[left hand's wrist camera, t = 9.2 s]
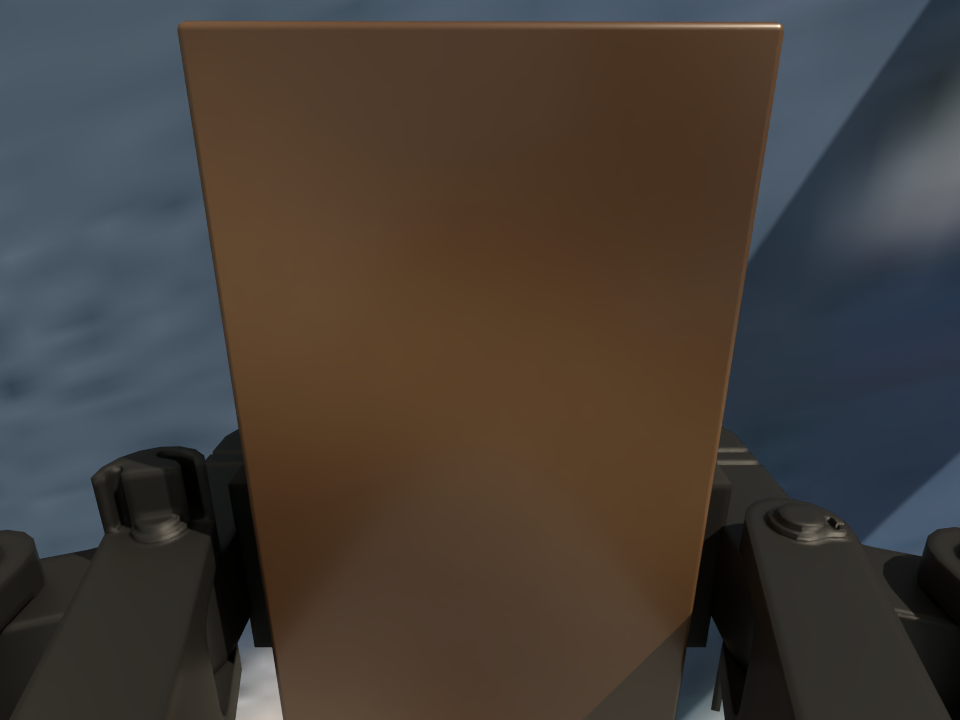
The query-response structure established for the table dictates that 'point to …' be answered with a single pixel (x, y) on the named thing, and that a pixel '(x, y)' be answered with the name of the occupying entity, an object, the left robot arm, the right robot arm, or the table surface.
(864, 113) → the table surface
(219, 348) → the table surface
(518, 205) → the post
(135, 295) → the table surface
